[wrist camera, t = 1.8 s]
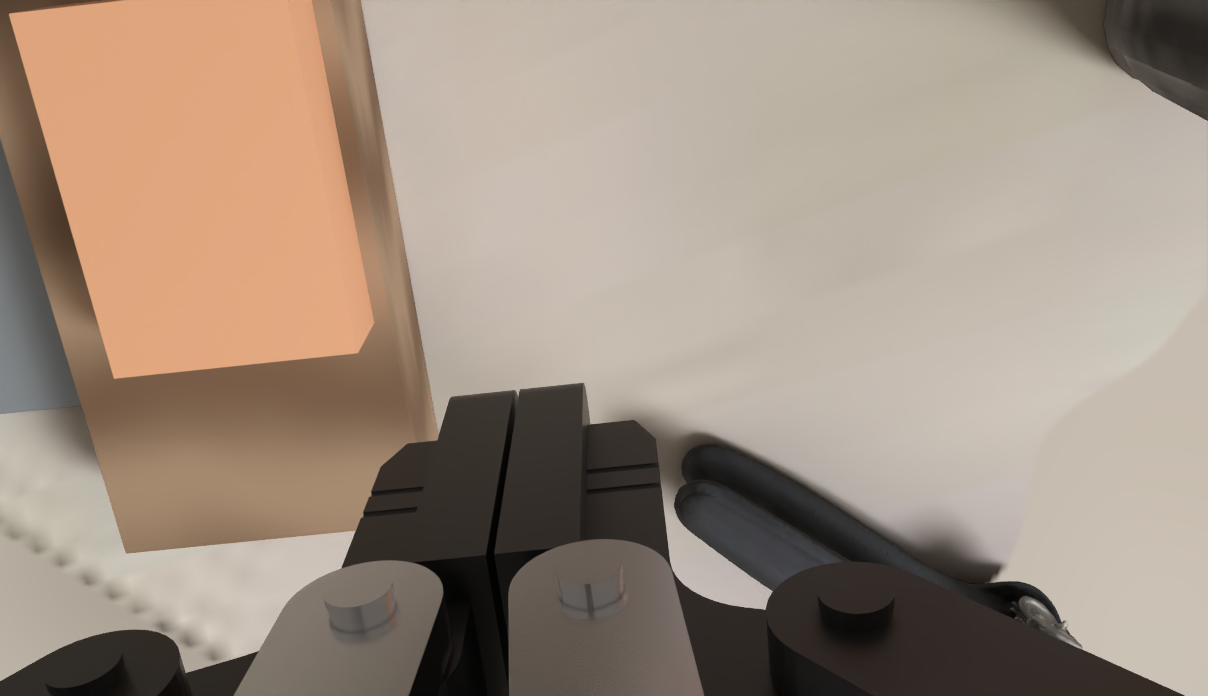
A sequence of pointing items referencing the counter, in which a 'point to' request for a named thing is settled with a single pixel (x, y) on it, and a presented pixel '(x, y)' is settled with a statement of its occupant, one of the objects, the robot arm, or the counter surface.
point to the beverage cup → (1163, 47)
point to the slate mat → (27, 318)
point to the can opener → (813, 534)
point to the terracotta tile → (200, 179)
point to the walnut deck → (248, 392)
